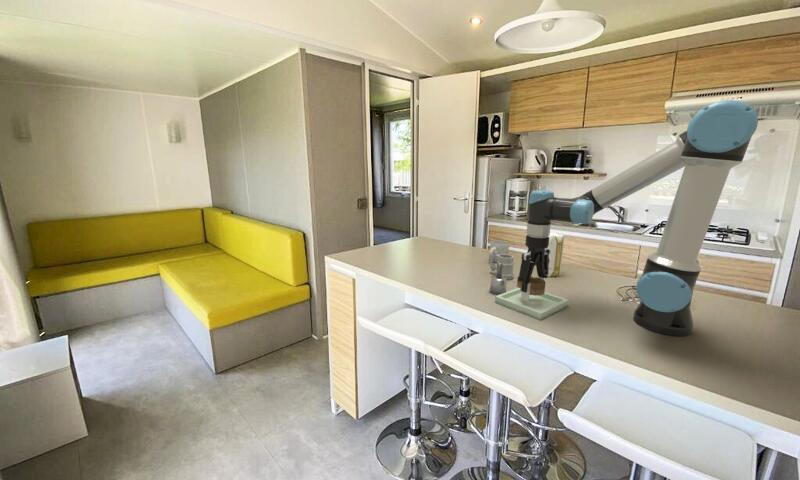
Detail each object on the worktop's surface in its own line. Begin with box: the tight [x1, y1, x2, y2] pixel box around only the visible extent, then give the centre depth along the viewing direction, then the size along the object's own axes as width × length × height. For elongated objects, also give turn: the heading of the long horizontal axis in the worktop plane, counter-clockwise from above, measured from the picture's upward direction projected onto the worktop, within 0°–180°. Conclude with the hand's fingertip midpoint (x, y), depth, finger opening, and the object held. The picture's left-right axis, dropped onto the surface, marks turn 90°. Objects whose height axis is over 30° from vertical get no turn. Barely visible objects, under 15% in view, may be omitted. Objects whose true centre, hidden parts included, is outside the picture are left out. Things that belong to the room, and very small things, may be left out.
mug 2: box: [489, 249, 515, 281], centre depth 152 cm, size 8×12×12 cm, turn 39°
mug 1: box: [488, 240, 510, 263], centre depth 174 cm, size 13×9×10 cm
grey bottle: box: [489, 262, 508, 296], centre depth 133 cm, size 6×6×12 cm
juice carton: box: [545, 231, 566, 278], centre depth 154 cm, size 8×9×19 cm
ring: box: [516, 276, 546, 296], centre depth 122 cm, size 10×8×4 cm
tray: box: [494, 287, 570, 321], centre depth 123 cm, size 18×18×2 cm
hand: (531, 297), depth 123 cm, fingers closed on ring, 8 cm apart
